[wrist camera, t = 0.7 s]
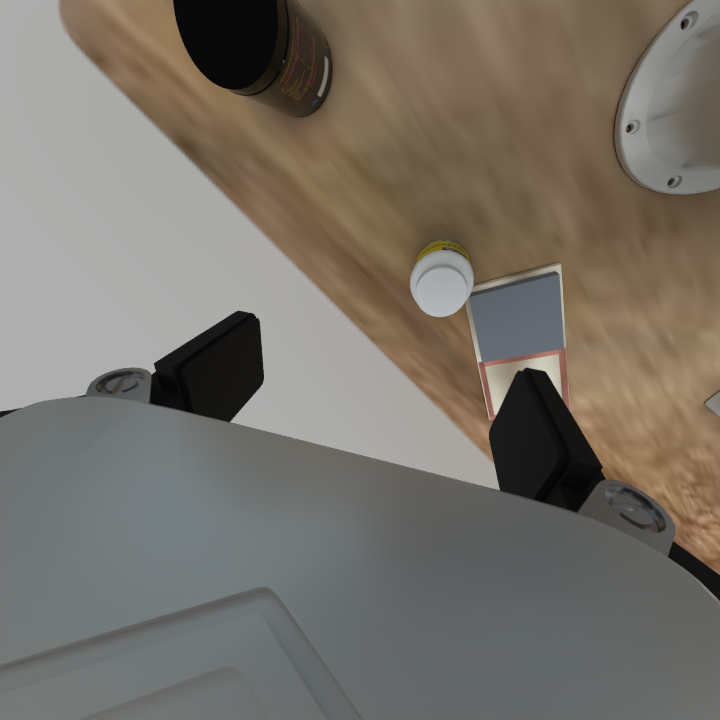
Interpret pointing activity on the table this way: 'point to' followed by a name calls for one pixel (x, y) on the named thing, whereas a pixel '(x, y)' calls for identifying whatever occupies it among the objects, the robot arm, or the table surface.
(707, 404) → the supplement box
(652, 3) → the table surface
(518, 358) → the stamping board
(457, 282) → the supplement bottle
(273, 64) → the supplement container
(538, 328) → the ink pad
